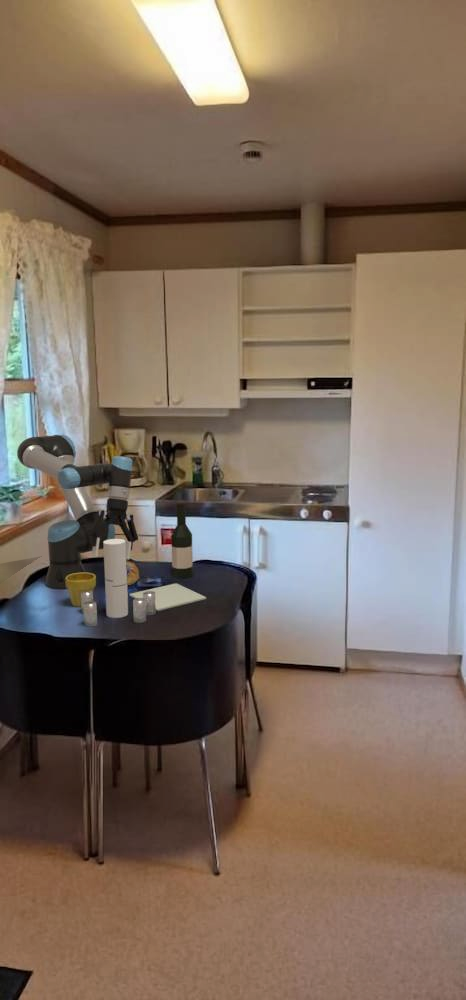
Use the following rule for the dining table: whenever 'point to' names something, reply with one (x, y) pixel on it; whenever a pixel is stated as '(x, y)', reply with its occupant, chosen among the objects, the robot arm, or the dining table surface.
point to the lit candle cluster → (139, 607)
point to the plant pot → (79, 585)
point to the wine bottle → (182, 546)
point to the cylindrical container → (115, 578)
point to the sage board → (171, 596)
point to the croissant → (132, 574)
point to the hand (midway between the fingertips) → (110, 557)
